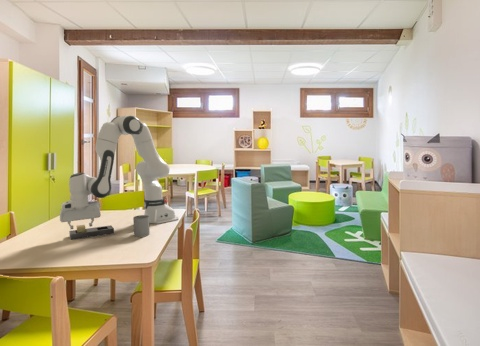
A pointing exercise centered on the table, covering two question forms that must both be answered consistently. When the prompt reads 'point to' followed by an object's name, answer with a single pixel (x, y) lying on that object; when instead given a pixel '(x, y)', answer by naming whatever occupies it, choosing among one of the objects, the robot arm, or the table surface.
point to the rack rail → (92, 232)
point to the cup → (141, 225)
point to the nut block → (81, 228)
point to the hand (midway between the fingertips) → (81, 227)
